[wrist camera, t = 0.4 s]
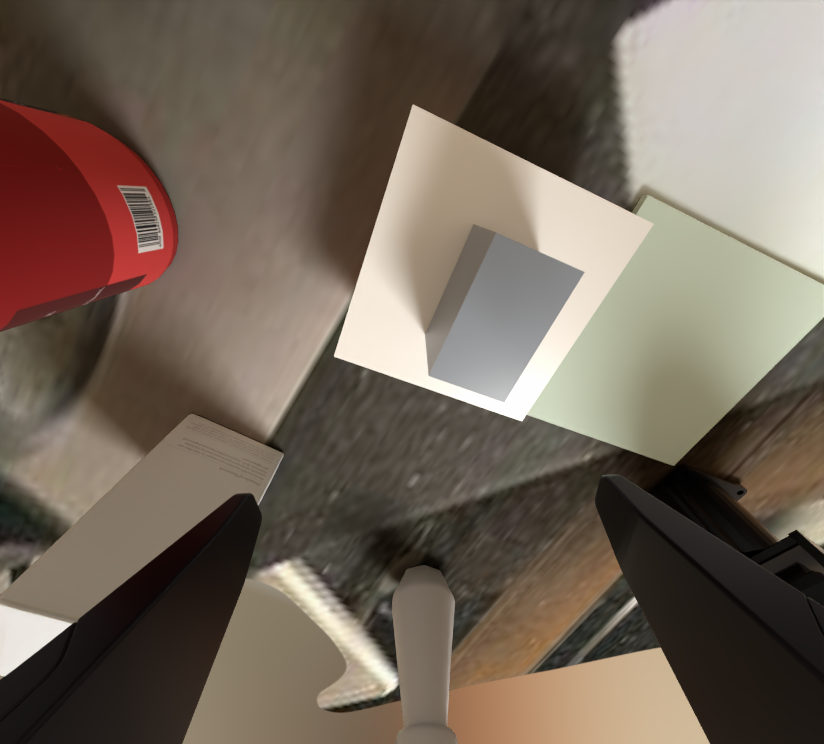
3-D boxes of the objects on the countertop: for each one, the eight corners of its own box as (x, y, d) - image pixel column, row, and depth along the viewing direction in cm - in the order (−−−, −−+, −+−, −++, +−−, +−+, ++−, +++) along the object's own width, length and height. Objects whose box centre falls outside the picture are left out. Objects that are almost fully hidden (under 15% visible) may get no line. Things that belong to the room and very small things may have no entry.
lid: (624, 221, 15) (745, 232, 9) (511, 400, 19) (549, 478, 14) (412, 117, 13) (412, 59, 8) (342, 340, 17) (310, 402, 12)
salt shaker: (464, 577, 32) (492, 784, 21) (423, 601, 34) (429, 803, 23) (421, 551, 31) (426, 763, 19) (381, 578, 33) (363, 785, 21)
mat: (835, 293, 19) (845, 295, 19) (669, 461, 26) (673, 466, 25) (642, 195, 17) (648, 194, 17) (509, 405, 23) (511, 409, 23)
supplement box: (190, 409, 23) (-15, 599, 12) (287, 452, 25) (187, 653, 14) (164, 474, 26) (-19, 676, 15) (254, 509, 28) (149, 713, 17)
